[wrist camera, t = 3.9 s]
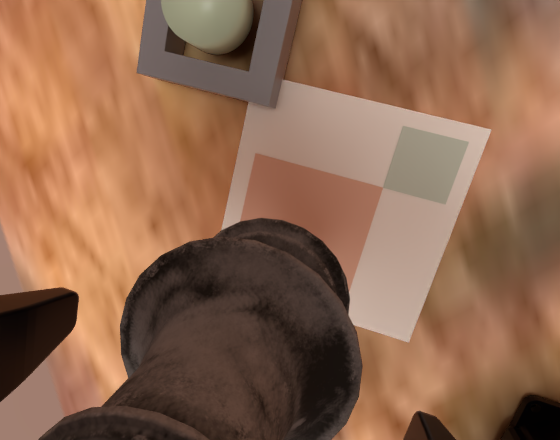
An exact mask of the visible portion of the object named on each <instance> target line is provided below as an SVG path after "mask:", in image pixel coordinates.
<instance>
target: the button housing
mask: <svg viewBox="0 0 560 440" xmlns="http://www.w3.org/2000/svg"><path fill="white" fill-rule="evenodd" d="M301 3H302V0H264V2H263V6H262V11H261V16H260V21H259V25H258V30H257V35H256V40H255V45H254V49H253V54H252V59H251V64H250V69H249V71H244V70H240V69H236V68H232V67H228V66H224V65H219V64H215V63H211V62H207V61H203V60H199V59H195V58H190V57H186V56H183V54H184V47H185V41H184V40H183V39H181V38H180V37H178V36H177V35H176V34H175V33H174V32H173V31H172V30H171V28H170V27H169V25H168V24H167V22H166V20H165V17H164V14H163V11H162V6H161V0H146V6H145V14H144V21H143V29H142V37H141V44H140V52H139V59H138V67H137V73H139V74H142V75H145V76H149V77H152V78H155V79H159V80H163V81H167V82H170V83H174V84H178V85H182V86H186V87H190V88H194V89H198V90H202V91H206V92H210V93H214V94H218V95H222V96H226V97H230V98H234V99H238V100H242V101H246V102H250V103H254V104H258V105H262V106H266V107H270V108H274V109H276V105H277V100H278V96H279V92H280V87H281V83H282V79H284V76H285V71H286V67H287V63H288V59H289V54H290V50H291V46H292V41H293V37H294V33H295V29H296V24H297V20H298V16H299V12H300V7H301Z"/></svg>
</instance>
